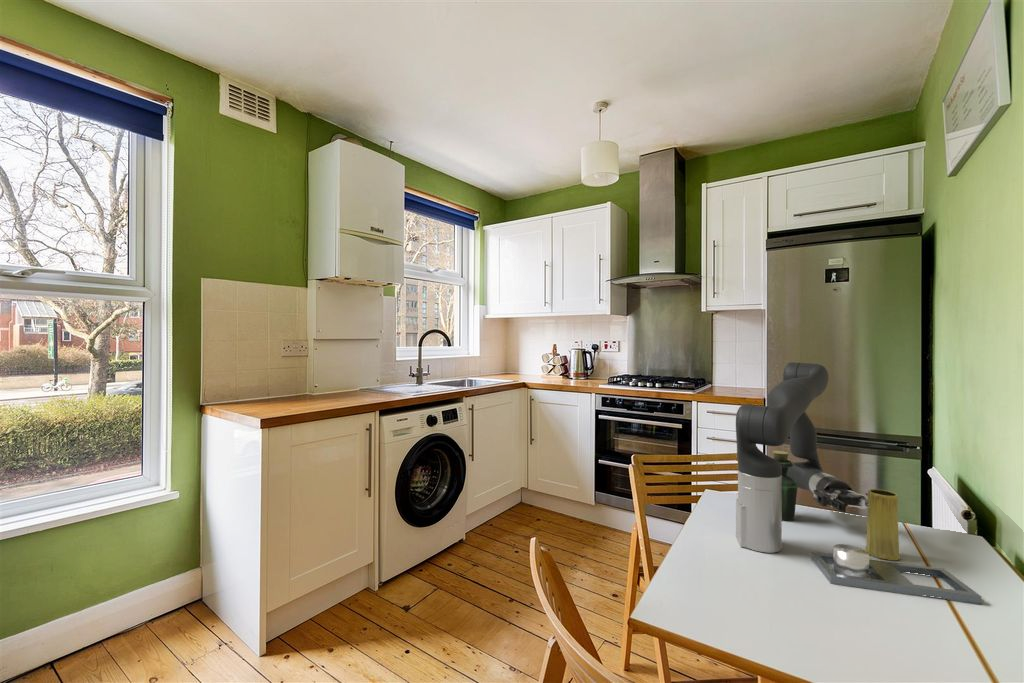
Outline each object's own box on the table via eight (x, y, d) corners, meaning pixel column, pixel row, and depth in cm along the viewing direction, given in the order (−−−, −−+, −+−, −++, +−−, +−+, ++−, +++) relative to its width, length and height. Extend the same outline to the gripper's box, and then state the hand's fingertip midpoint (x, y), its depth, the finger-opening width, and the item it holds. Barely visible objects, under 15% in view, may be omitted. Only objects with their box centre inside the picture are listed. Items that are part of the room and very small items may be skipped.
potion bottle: (758, 515, 127) (758, 451, 127) (771, 509, 131) (771, 447, 132) (789, 524, 120) (790, 457, 120) (802, 518, 125) (802, 453, 125)
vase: (894, 551, 104) (894, 490, 105) (904, 563, 99) (904, 498, 99) (862, 546, 107) (862, 486, 107) (870, 557, 101) (870, 494, 102)
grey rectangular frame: (830, 583, 90) (830, 558, 90) (811, 558, 100) (811, 536, 101) (981, 604, 83) (981, 577, 83) (943, 575, 94) (943, 551, 94)
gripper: (802, 474, 128) (831, 492, 112) (858, 477, 125) (896, 496, 109) (802, 500, 127) (831, 522, 111) (858, 504, 125) (896, 527, 109)
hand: (863, 509), depth 110 cm, fingers open, 8 cm apart
